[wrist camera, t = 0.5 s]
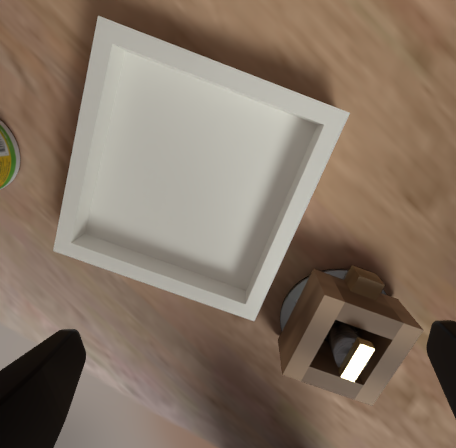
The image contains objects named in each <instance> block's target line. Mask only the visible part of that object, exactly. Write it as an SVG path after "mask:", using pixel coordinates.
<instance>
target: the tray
mask: <svg viewBox="0 0 456 448" xmlns="http://www.w3.org/2000/svg"><path fill="white" fill-rule="evenodd" d="M349 114H350V113H349V112H346V111H344V110H341V109H338V108H336V107H333V106H331V105H328V104H326V103H323V102H320V101H318V100H315V99H313V98H310V97H307V96H305V95H302V94H300V93H297V92H294V91H292V90H289V89H287V88H284V87H282V86H279V85H276V84H274V83H271V82H269V81H266V80H263V79H261V78H258V77H256V76H253V75H251V74H248V73H245V72H243V71H240V70H238V69H235V68H232V67H230V66H227V65H225V64H222V63H220V62H217V61H214V60H212V59H209V58H207V57H204V56H201V55H199V54H196V53H194V52H191V51H188V50H186V49H183V48H181V47H178V46H176V45H173V44H170V43H168V42H165V41H163V40H160V39H157V38H155V37H152V36H150V35H147V34H145V33H142V32H139V31H137V30H134V29H132V28H129V27H126V26H124V25H121V24H119V23H116V22H114V21H111V20H108V19H106V18H103V17H101V16H98V18H97V24H96V29H95V34H94V39H93V45H92V50H91V55H90V60H89V66H88V71H87V76H86V81H85V87H84V92H83V97H82V102H81V108H80V113H79V118H78V123H77V129H76V134H75V139H74V144H73V150H72V155H71V160H70V165H69V170H68V176H67V181H66V186H65V191H64V197H63V202H62V207H61V212H60V218H59V223H58V228H57V233H56V239H55V244H54V249H53V251H55V252H57V253H60V254H63V255H66V256H69V257H72V258H75V259H77V260H80V261H83V262H86V263H89V264H92V265H95V266H97V267H100V268H103V269H106V270H109V271H112V272H115V273H117V274H120V275H123V276H126V277H129V278H132V279H135V280H137V281H140V282H143V283H146V284H149V285H152V286H155V287H157V288H160V289H163V290H166V291H169V292H172V293H175V294H177V295H180V296H183V297H186V298H189V299H192V300H195V301H197V302H200V303H203V304H206V305H209V306H212V307H214V308H217V309H220V310H223V311H226V312H229V313H232V314H234V315H237V316H240V317H243V318H246V319H249V320H252V321H255V319H256V317H257V315H258V312H259V310H260V308H261V306H262V304H263V301H264V299H265V297H266V295H267V293H268V291H269V288H270V286H271V284H272V282H273V280H274V277H275V275H276V273H277V271H278V269H279V267H280V264H281V262H282V260H283V258H284V256H285V253H286V251H287V249H288V247H289V245H290V243H291V240H292V238H293V236H294V234H295V232H296V229H297V227H298V225H299V223H300V221H301V219H302V216H303V214H304V212H305V210H306V208H307V206H308V203H309V201H310V199H311V197H312V195H313V192H314V190H315V188H316V186H317V184H318V182H319V179H320V177H321V175H322V173H323V171H324V168H325V166H326V164H327V162H328V160H329V158H330V155H331V153H332V151H333V149H334V147H335V144H336V142H337V140H338V138H339V136H340V134H341V131H342V129H343V127H344V125H345V123H346V121H347V118H348V116H349Z"/></svg>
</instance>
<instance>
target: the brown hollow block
mask: <svg viewBox="0 0 456 448" xmlns="http://www.w3.org/2000/svg"><path fill="white" fill-rule="evenodd" d="M384 287H385V284H384V283H383V282H382V281H381V279H380V278H379V277H378V276H377V275H376V274H375V273H372V272H369V271H366V270H364V269H361V268H358V267H356V266H353V265H352V266H351V268H350V270H349V271H348V273H347V275H346V277H345V279H344V280H343V279H341V278H338V277H335V276H332V275H330V274H327V273H324V272H321V271H318V270H316V269H313V271H312V273H311V275H310V277H309V279H308V281H307V283H306V285H305V287H304V289H303V291H302V293H301V295H300V297H299V299H298V301H297V303H296V305H295V307H294V309H293V311H292V313H291V315H290V317H289V319H288V321H287V323H286V325H285V327H284V329H283V331H282V333H281V335H280V337H279V339H278V344H279V352H280V360H281V368H282V375H284V376H287V377H290V378H293V379H296V380H298V381H301V382H304V383H307V384H310V385H313V386H316V387H319V388H322V389H325V390H328V391H330V392H333V393H336V394H339V395H342V396H345V397H348V398H351V399H354V400H357V401H360V402H362V403H365V404H368V405H371V406H373V404H374V403H375V401H376V400H377V398H378V397H379V395H380V394H381V392H382V391H383V389H384V388H385V387H386V385H387V384H388V382H389V381H390V379H391V378H392V376H393V375H394V373H395V372H396V370H397V369H398V367H399V366H400V364H401V363H402V361H403V360H404V358H405V357H406V356H407V354H408V353H409V351H410V350H411V348H412V347H413V345H414V344H415V342H416V341H417V339H418V338H419V336H420V335H421V333H422V332H423V329H422V328H421V327H420V325H419V324H418V323H417V322H416V321H415V319H414V318H413V317H412V316H411V315H410V313H409V312H408V311H407V310H406V309H405V307H404V306H403V305H402V304H401V303H400V301H399V300H398V299H396V298H393V297H390V296H388V295H385V294H382V293H381V292H382V290H383V288H384ZM335 320H338V321H341V322H344V323H346V324H349V325H352V326H355V327H358V328H360V329H359V330H358V332H357V333H358V335H359V337H360V338H361V339H364V340H367V341H369V342H372V344H373V346H374V348H375V350H374V352H373V353H372V355H371V356H370V358H369V362H368V364H367V366H366V367H365V368H364V369H362V371H361V372H360V374H359V375H358V377H357V379H356V380H355V382H353V381H350V380H347V379H344V378H342V377H340V374H339V371H338V369H339V367H338V366H337V364H336V361H335V358H334V356H333V353H332V350H331V347H330V344H329V342H328V341H325V340H324V339H325V337H326V335H327V334H328V332H329V330H330V328H331V327H332V325H333V323H334V321H335Z"/></svg>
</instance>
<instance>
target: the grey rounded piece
mask: <svg viewBox="0 0 456 448" xmlns="http://www.w3.org/2000/svg"><path fill="white" fill-rule="evenodd" d="M348 271H349V270H347V269H329V270H324V271H321V272H324V273H327V274H330V275H332V276H335V277H338V278H341V279H343V280H344V279H345V277H346V275H347V273H348ZM309 277H310V276H308V277H306V278H304V279H303V280H301V281H300V282H299V283H297V284H296V285H295V286H294V287H293V288H292V289H291V290H290V292H289V293H288V294H287V296H286V298H285V300H284V302H283V304H282V308H281V312H280V324H281V329H282V331H283V329H284V327H285V325H286V323H287V321H288V319H289V317H290V315H291V313H292V311H293V309H294V307H295V305H296V303H297V301H298V299H299V297H300V295H301V293H302V291H303V289H304V287H305V285H306V283H307V281H308V279H309ZM381 293H382V294H385V295H387V294H386V293H385V291H384V290H382V292H381ZM359 329H360V328H358V327H355V326H352V325H349V324H346V323H344V322H341V321H338V320H335V321H334V323H333V325H332V327H331V328H330V330H329V332H328V334H327V335H326V337H325V339H324V340H325V341H328V342H329V344H330V347H331V350H332V353H333V356H334V358H335V361H336V364H337V366H338V367H339V369H338V371H339V374H340V377H342V378H344V379H347V380H350V381H353V382H355V380H356V379H357V377H358V375H359V374H360V372H361V371H362V369H364V368H365V367H366V366H367V364H368V362H369V358H370V356H371V355H372V353H373V352H374V350H375V348H374V346H373V344H372V342H369V341H367V340H364V339H361V338H360V337H359V335H358V333H357V332H358V330H359Z"/></svg>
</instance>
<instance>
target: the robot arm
mask: <svg viewBox="0 0 456 448" xmlns="http://www.w3.org/2000/svg"><path fill="white" fill-rule="evenodd" d="M427 354H428V357H429V359H430V361H431V364H432V366H433V368H434V371H435V373H436V375H437V377H438V380H439V382H440V384H441V387H442V389H443V391H444V394H445V396H446V398H447V401H448V403H449V405H450V407H451V410H452V412H453V414H454V416H455V418H456V322H455V321H451V320H443V321H435V322H434V323H433V324H432V327H431V330H430V334H429V338H428V342H427ZM85 360H86V351H85V348H84V345H83V342H82V340H81V337H80V334H79V332H78V331H77V330H75V329H63V330H59V331H58V332H56V333H55V334H53V335H52V336H50V337H49V338H47V339H46V340H44V341H43V342H42V343H40V344H39V345H37V346H36V347H34V348H33V349H32V350H30V351H28V352H27V353H25V354H24V355H23V356H21V357H20V358H19V359H17V360H15V361H14V362H12V363H11V364H9V365H8V366H7V367H5V368H3V369H2V370H1V371H0V448H53V447H54V445H55V443H56V441H57V438H58V436H59V434H60V432H61V429H62V427H63V424H64V422H65V419H66V417H67V414H68V411H69V408H70V405H71V402H72V399H73V396H74V393H75V390H76V387H77V384H78V381H79V378H80V375H81V372H82V369H83V366H84V363H85Z"/></svg>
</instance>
